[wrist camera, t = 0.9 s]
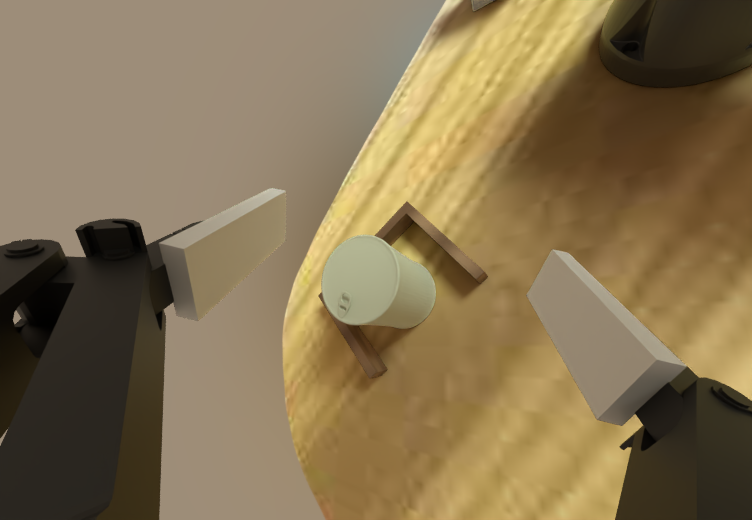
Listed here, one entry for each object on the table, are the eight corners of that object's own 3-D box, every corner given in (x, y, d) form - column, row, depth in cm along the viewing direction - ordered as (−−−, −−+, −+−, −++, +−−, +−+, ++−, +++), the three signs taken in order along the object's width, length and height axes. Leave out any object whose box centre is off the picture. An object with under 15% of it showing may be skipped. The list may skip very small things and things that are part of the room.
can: (363, 311, 39) (304, 302, 29) (388, 252, 39) (339, 222, 29) (419, 341, 34) (373, 343, 24) (447, 273, 35) (413, 247, 24)
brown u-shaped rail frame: (330, 298, 42) (318, 295, 40) (414, 210, 39) (406, 201, 36) (381, 375, 35) (369, 378, 33) (488, 276, 32) (484, 271, 30)
